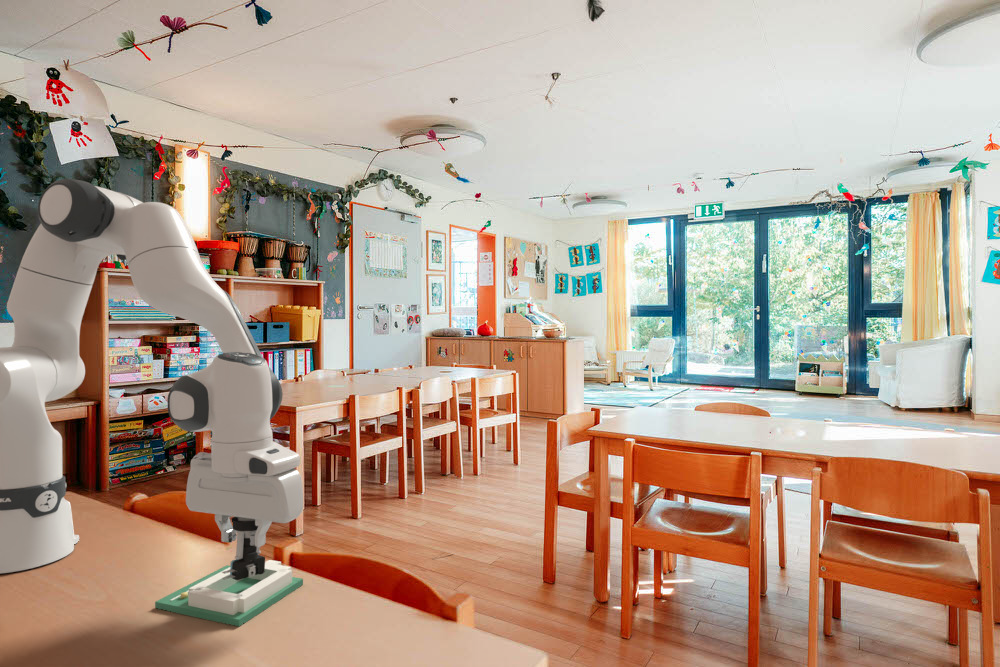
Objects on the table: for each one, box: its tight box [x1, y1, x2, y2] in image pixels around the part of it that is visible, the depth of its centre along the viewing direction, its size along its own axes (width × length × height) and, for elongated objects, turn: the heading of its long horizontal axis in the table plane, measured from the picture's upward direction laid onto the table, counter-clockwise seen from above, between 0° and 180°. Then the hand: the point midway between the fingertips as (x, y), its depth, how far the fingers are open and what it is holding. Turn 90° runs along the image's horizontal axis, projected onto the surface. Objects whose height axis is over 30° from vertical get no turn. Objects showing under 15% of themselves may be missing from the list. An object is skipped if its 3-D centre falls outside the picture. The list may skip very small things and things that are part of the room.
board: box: [154, 559, 304, 627], centre depth 91 cm, size 16×14×3 cm
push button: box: [222, 516, 266, 580], centre depth 91 cm, size 7×5×10 cm
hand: (243, 543), depth 90 cm, fingers closed on push button, 4 cm apart
